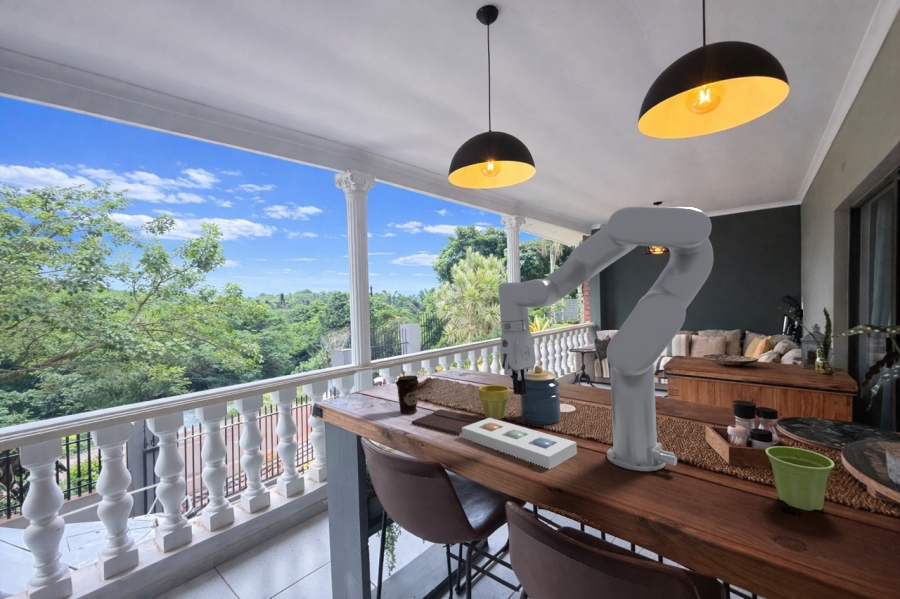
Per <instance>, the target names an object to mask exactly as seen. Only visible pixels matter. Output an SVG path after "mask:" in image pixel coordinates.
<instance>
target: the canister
mask: <svg viewBox="0 0 900 599" xmlns="http://www.w3.org/2000/svg"><path fill="white" fill-rule="evenodd" d="M559 387H560V382H559V381H558V380H557V375H556V374H555V373H553V372H552V371H549V370H543V366H541V365H535V367H534V369H533V370H532V369H531V370H529V371H528V372H527V378H526V394H524V395H519V397H520V417H521V420H522V421H524V422H525V421H526V422H525V423H529V424H532V425H543V426H544V425H552V424H556V423H558V422H560V421H561V417H562V413H561V412H562V411H561V400H560V399H561V398H560V397H561V396H560V395H561V392H559Z"/></svg>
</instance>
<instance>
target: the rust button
mask: <svg viewBox="0 0 900 599" xmlns="http://www.w3.org/2000/svg"><path fill="white" fill-rule="evenodd" d="M483 429H485V430H488V431H491V432H492V431H494V430H497V429H499V425H498V424H495V423H487V424H484V425H483Z"/></svg>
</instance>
